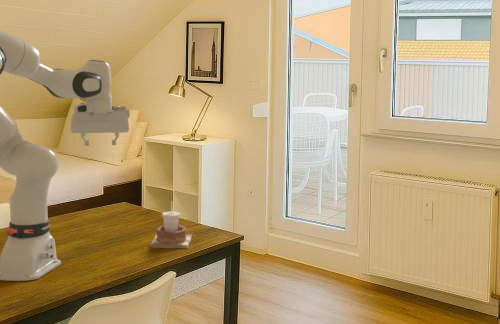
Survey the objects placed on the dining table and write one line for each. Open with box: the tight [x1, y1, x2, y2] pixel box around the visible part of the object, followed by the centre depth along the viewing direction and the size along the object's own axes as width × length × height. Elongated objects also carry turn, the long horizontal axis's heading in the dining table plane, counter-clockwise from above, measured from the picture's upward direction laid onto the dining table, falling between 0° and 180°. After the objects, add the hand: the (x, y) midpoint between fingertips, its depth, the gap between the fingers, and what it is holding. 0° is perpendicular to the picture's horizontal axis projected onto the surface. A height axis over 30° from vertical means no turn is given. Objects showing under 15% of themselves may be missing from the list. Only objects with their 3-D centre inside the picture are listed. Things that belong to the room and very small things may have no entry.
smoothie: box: [161, 200, 181, 232], centre depth 220 cm, size 6×6×14 cm
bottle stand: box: [149, 224, 193, 249], centre depth 221 cm, size 13×13×5 cm
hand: (100, 145), depth 220 cm, fingers open, 8 cm apart
